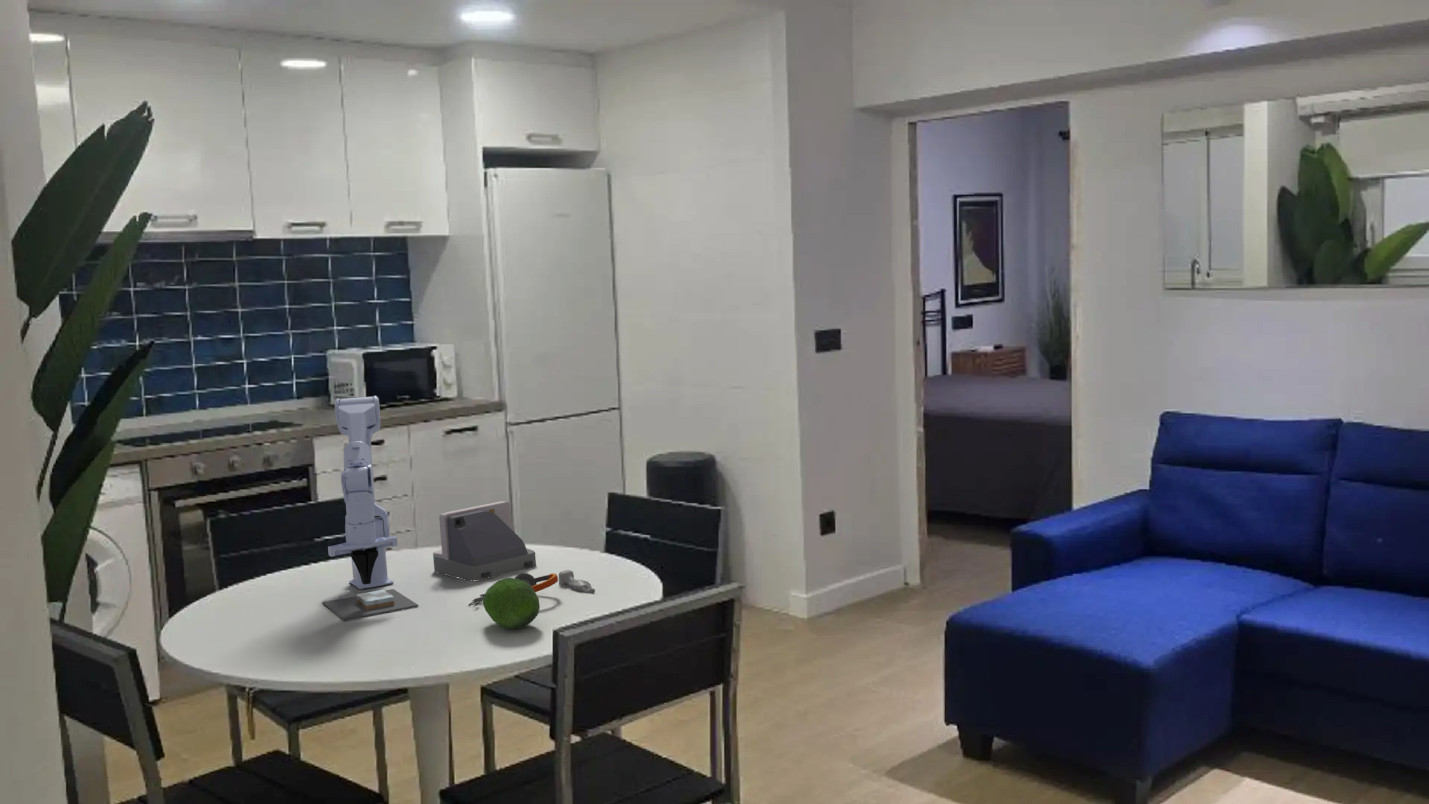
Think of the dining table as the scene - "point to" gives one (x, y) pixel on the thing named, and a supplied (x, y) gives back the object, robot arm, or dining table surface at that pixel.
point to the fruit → (511, 603)
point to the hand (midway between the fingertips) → (366, 583)
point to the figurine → (574, 582)
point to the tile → (375, 599)
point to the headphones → (530, 583)
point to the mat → (353, 610)
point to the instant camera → (480, 543)
